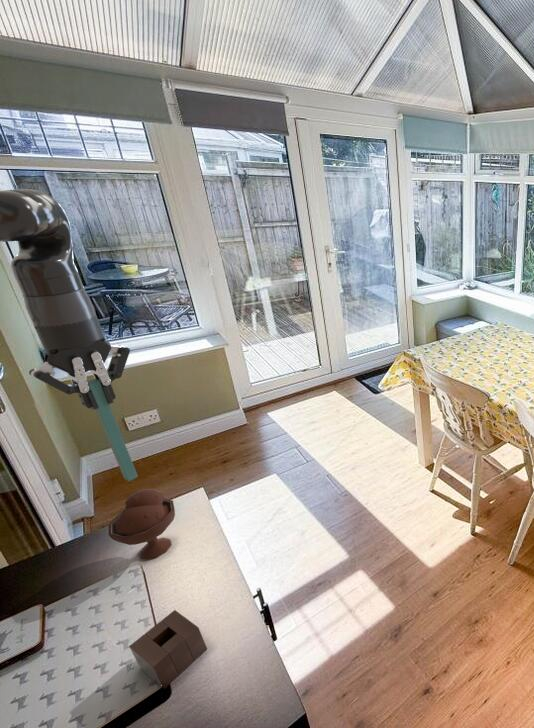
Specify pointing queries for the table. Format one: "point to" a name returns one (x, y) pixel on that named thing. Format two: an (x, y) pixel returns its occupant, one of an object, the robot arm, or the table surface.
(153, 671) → the holder
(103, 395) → the stick
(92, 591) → the table surface
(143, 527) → the ice cream bowl
